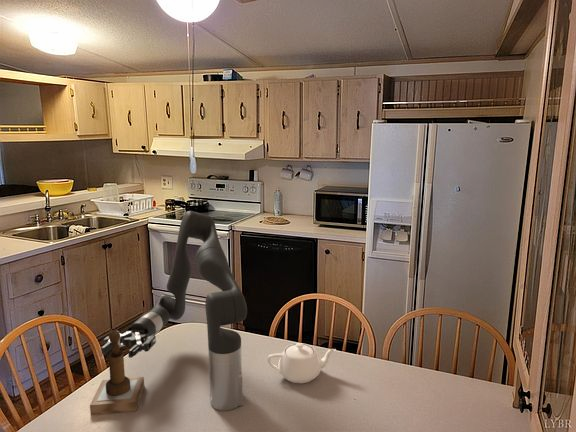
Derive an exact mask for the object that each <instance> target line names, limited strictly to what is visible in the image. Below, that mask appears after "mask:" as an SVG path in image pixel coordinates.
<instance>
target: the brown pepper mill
mask: <svg viewBox="0 0 576 432" xmlns="http://www.w3.org/2000/svg"><path fill="white" fill-rule="evenodd" d="M118 331H119V330H112V331H111V332H109V334H108V336H109V340H110V341H111V342H112V346H111V352H110V353H109V354H108V364H109V367H108V368H109V377H110V378H109V379H108V380H109V381H107V383H106V393H107V394H108V395H112V396H118V395H122V394H124V393H126V392H128V391H129V390H130V379H129V378H130V377H129V376H128V377H127V376H126V374H125V360H124V359H125V358H124V355H125V354H124V351H122V350H120V349H121V347H120V345H118V341H119V339H120V340H121V338H120V334H121V333H120V331H119V332H118Z"/></svg>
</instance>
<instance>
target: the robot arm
mask: <svg viewBox="0 0 576 432" xmlns="http://www.w3.org/2000/svg"><path fill="white" fill-rule="evenodd" d="M216 227H217V226H216V223H215V221H214V218H213V217H212V216H211V215H208V214H205V213H201V212H196V211H193V210H188V211H186V212H185V213H184V215H182V218H181V221H180V225H179V229H178V235H177V241H176V244H175V245H176V246H175V251H174V259H173V262H172V267H171V270H170V275H169V277H168V281H167V284H166V290H167V291H168V292H170V293H171V294H172V295H173V296H174V297H173V296H172V297H171V296H169V295H165V294H164V295H161V296H159V297H158V299H157V300H156V302H155V304H154V306H153V307H152V309H150V310H149V311H148V312H147V313H145V314H143V315H142V316H141V317H139V318H138V319H136V320H135V321H134V322H133V323H132V324H131V325H129V327H128V329H127V331H124V332H123V333H120V331H119V330H117V331H118V332H119V333H120V339H119V341H118V345H120V348H122V347H125V346H126V347H127V346H129V347H131V348H130V349H129V350H128V353H127V354H128V358H129V359H130V358H131V359H132V358H133V357H134V356H136V355H137V354H139V353H141V352H142V351H144V352H149V351H150V350H151V349H152V347H153V346H154V345H155V344H156V343H157V337H156V335H157V334H158V333H159V332H160V331H161V330H162V329H163V328H164V327H165V325H167V324H168V322H169V321H170V320H174V321H178V320H180V319H181V318H182V317H183V316H184V314H185V312H186V311H185V310H186V298H187V297H186V295H187V294H186V293H187V288H188V285H189V282H190V279H191V276H192V265H191V261H190V258H189V254H188V247H187V246H188V240H189V238H190V239H191V238H192V239H196V240H201V241H202V242H203V243H202V244H201V245H200V247H199V248H198V249H197V250H196V251H197V252H196V254H195V261H196V262H195V263H196V265H197V266H196V267H197V268H198V271H199V274H200V275H201V277H202V278H203V279H204V280H206V281H207V282H209V283H210V284H212V285H213V286H215V287H217V289H220V290H221V291H215V292H209V293H208V294H207V295H206V297H205V303H204V304H205V314H206V315H205V316H206V318H205V319H206V328H207V329H206V330H207V343H208V344H207V345H208V371H209V372H208V375H209V376H208V377H209V379H208V380H209V400H210V405H211V407H212V408H213V409H214V410H217V411H218V410H219V411H231V410H234V409H236V408H237V407H241V406H244V402H243V401H244V399H243V397H244V396H243V393H244V392H243V368H242V366H243V365H242V337H241V335H240V333H239V332H237V331H235V330H232V329H227V328H224V327H222V326H228V325H233V324H238V323H242V322H243V321H245V320H246V318H247V315H248V306H247V302H246V298H245V296H244V293H243V292H242V290H241V288H240V287H239V285H238V283H237V281H236V279H235V277H234V275H233V273H232V270H231V268H230V265H229V262H228V259H227V257H226V254H225V252H224V250H223V248H222V245H221V242H220V239H219V236H218V232H217V228H216ZM103 341H104V345H102V346H101V349H100V350H101V355H104V356H105V355H106V354H107V353H109V352H110V351H112V349H111V346H112V342H111V341H110V340H109V335H108V336H106V337H105V338H103Z"/></svg>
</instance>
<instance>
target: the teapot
mask: <svg viewBox="0 0 576 432" xmlns="http://www.w3.org/2000/svg"><path fill="white" fill-rule="evenodd" d="M336 351H337V349H336V348H330V349H328V350H327V351H326V353H325V355H324V356H323V357H321V358H320V357H319V355H318V353H317V350H316V349H315V348H314V346H311V345H310V344H307V343H302V342H298V343H292V344H291V343H290V344H288V345H287V346H285V348H284V349H283V351H282V352H280V353H278V352H277V353H270V354H269V355H268V356H267V363H268V364H269V366H270V367H271V368H273V369H274V370H277V371H279V374H280V375H281V376H282V377H283V379H285V380H286V381H288V382H290V383H293V384H305V383H306V384H307V383H309V382H312V381H313V380H315V378H317V377H318V376H319V375H320V373H321V370H322V369H324V368H325V367H326V366H327V364H328V363H329V359H330V356H331V355H332V353H334V352H336ZM273 358H279V361H278V364H277V365H278V366H277V365H275V364H274V363H273V362H272V359H273Z"/></svg>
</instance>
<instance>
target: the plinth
mask: <svg viewBox="0 0 576 432" xmlns="http://www.w3.org/2000/svg"><path fill="white" fill-rule="evenodd" d="M128 378H129V379H130V390H129V391H128V392H126V393H124V394H122V395H118V396H112V395H108V394H107V393H106V383H107V381H109V380H110V379H103V380H101V382H100V384H99V387H98V388H97V390H96V392H95V393H94V396H93V399H92V400H91V403H90V404H89V410H90V411H89V412H90V416H93V415H94V416H95V415H106V414H117V413H119V414H120V413H128V412H129V413H130V412H137V409H138V407H139V403H140V400H141V398H142V394H143V391H144V388H145V378H144V376H139V377H128Z"/></svg>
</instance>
